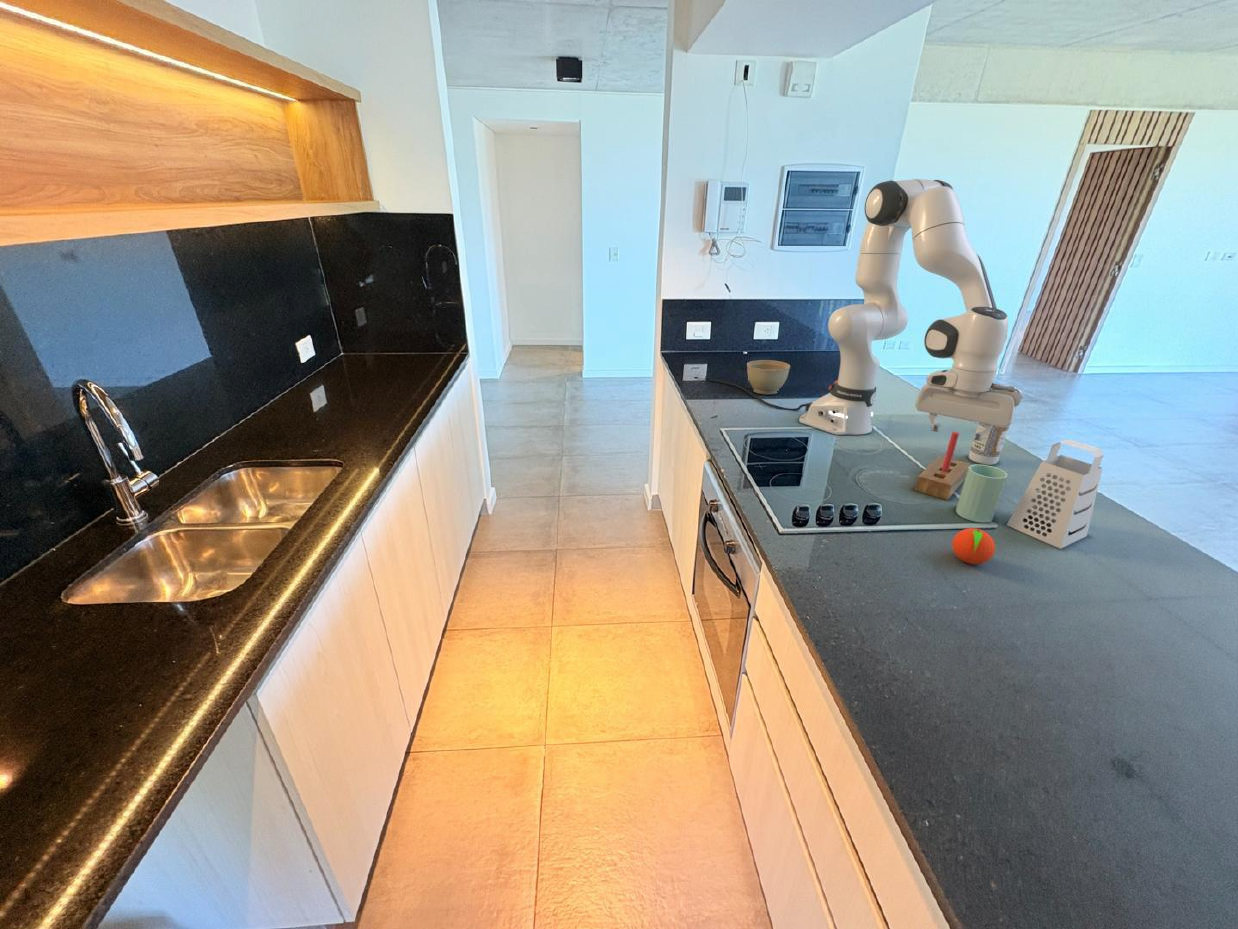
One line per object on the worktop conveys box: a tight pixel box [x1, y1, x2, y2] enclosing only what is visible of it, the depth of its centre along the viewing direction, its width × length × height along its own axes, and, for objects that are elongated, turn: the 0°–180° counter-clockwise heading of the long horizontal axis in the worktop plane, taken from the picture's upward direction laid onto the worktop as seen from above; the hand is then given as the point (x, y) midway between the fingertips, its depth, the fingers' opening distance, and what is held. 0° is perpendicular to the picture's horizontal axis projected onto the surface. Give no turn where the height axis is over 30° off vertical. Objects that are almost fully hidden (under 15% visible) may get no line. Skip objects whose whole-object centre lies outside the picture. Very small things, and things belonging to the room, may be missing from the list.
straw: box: [941, 431, 960, 472], centre depth 132 cm, size 2×2×14 cm
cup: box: [955, 463, 1009, 524], centre depth 118 cm, size 7×7×11 cm
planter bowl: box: [746, 359, 791, 395], centre depth 206 cm, size 16×16×11 cm
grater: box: [1006, 438, 1105, 549], centre depth 110 cm, size 10×10×20 cm
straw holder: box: [914, 455, 972, 501], centre depth 134 cm, size 7×17×4 cm, turn 136°
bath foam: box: [968, 422, 1011, 466], centre depth 144 cm, size 7×7×20 cm
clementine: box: [951, 527, 996, 565], centre depth 102 cm, size 8×7×7 cm
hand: (956, 435), depth 129 cm, fingers open, 8 cm apart
